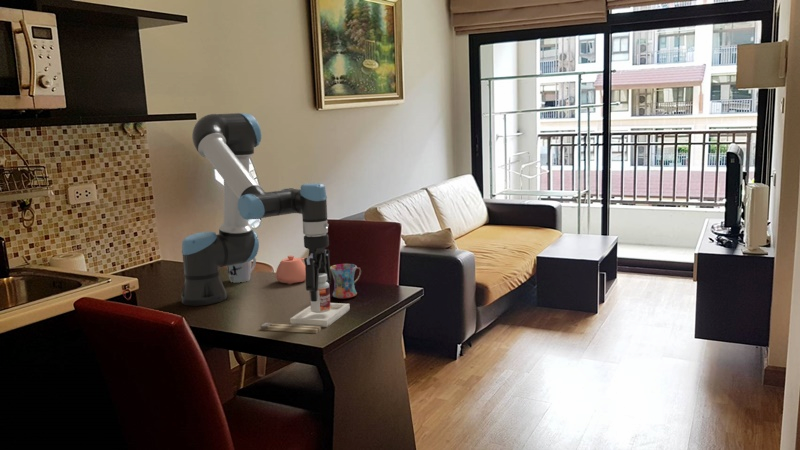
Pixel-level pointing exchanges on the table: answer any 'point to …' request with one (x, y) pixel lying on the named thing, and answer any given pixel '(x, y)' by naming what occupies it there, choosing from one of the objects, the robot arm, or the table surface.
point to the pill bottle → (323, 293)
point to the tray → (320, 316)
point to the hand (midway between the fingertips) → (320, 307)
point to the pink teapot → (291, 270)
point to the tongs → (290, 328)
